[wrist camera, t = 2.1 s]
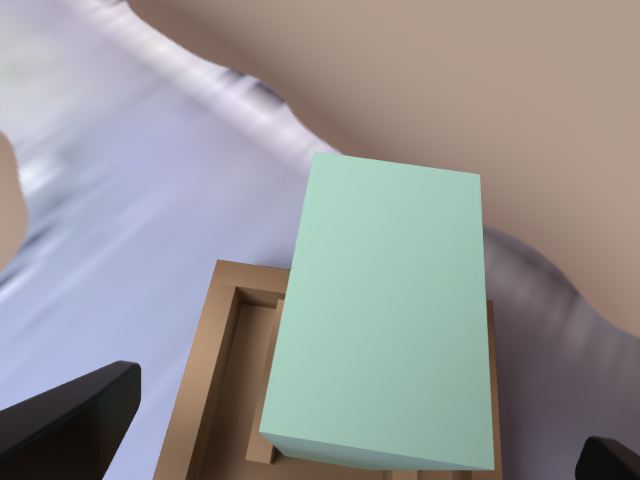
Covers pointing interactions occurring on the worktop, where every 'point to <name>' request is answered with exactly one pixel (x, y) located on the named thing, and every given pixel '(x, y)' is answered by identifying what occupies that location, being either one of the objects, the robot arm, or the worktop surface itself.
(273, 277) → the rack
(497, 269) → the worktop surface
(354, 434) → the mint green block
